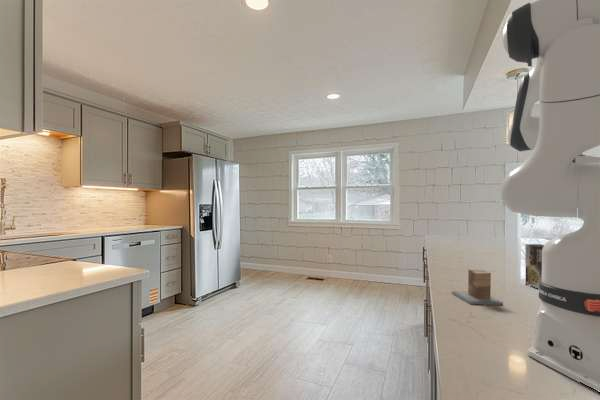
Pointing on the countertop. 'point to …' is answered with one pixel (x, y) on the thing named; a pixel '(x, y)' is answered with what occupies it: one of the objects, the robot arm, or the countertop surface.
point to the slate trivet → (476, 299)
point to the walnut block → (479, 284)
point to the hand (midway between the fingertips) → (561, 207)
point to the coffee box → (533, 264)
